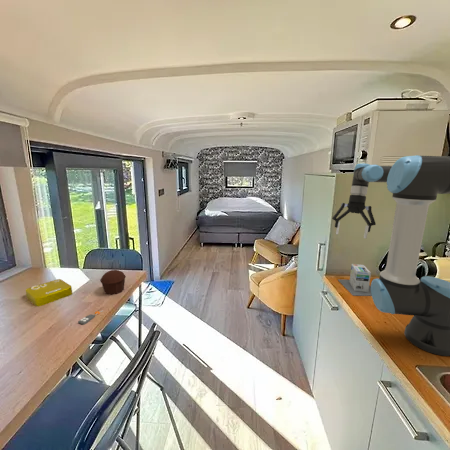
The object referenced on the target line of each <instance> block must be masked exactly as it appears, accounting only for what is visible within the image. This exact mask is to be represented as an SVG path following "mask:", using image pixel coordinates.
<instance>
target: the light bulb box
mask: <svg viewBox="0 0 450 450" xmlns="http://www.w3.org/2000/svg"><path fill="white" fill-rule="evenodd" d="M350 267H351V268H350V275H349V280H350V281H349V282H350V284H351V286H352V287H353V289H354V291H362V292H368V291H369V285H370V284H371V282H370V281H371V277H372V275H371V274H372V272H371V271H370V270H369V268H368V267H366V265H365V264H360V263H359V264H357V263H351V266H350Z"/></svg>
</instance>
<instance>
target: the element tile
mask: <svg viewBox="0 0 450 450" xmlns="http://www.w3.org/2000/svg"><path fill="white" fill-rule="evenodd" d="M25 295H26V299H27V300H28V301H30V302H31V303H32V304H33V305H34V306H35V307H42V306H45V305H48V304H51V303H53V302H56V301H59V300H62V299H65V298H68V297H70V296H72V295H73V289H72V285H70V284H69V283H68V282H65V280H63V279H60V278H58V279H54V280H51V281H47V282H45V283H40V284H36V285H33V286H31V287H27V288H26V289H25Z"/></svg>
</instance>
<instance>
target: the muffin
mask: <svg viewBox="0 0 450 450" xmlns="http://www.w3.org/2000/svg"><path fill="white" fill-rule="evenodd" d="M126 278H127V277H126V274H124V272H123V271H121V270H118V269H112V270H109V271H107V272H105V273H104V274H103V275H102V277H101V278H100V279H99V280H100V283H101V285H102V288H103V292H104V293H105V295H109V296H111V295H112V296H113V295H118V294H120V293H122V292H123V291H124V290H125V280H126Z"/></svg>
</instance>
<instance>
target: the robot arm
mask: <svg viewBox="0 0 450 450" xmlns="http://www.w3.org/2000/svg"><path fill="white" fill-rule="evenodd" d="M370 183H386V188H387V190H388V192H390V193H392V196H391V197H392V199H393V200H394V201H395V203H396V204H395V211H394V217H393V223H392V230H391V236H390V241H389V247H388V253H387V260H386V266H385V269H383V270H382V271H380V273H379V277H378V278H377V277H376V278H373V279H372V281H371V282H370V286H371V294H372V296H371V298H372V301H373V303H374V306H375V308H376V309H377V310H378V311H379V312H381V313H385V314H391V315H402V316H403V315H405V316H412V317H411V319H410V321H409V323H407V324H406V326H405V329H404V331H403V332H404V336H405V338H406V339H407V340H408V342H410V343H411V344H412V345H414V346H416V347H417V348H418V349H421V350H422V351H426V352H427V353H430V354H433V355H436V356H437V355H438V356H442V357H444V356H445V357H450V281H448V280H446V279H441V278H438V277H435V276H428V275H426V276H425V275H424V276H422V277H421V278H420V279H419V278H418V277H417V275H416V274H417V270H418V263H419V260H420V259H419V258H420V254H421V253H420V252H421V250H422V249H421V247H422V243H423V238H424V233H425V228H426V223H427V217H428V211H429V207H430V205H431V204H434V202H436V201H437V196H438V195H446V194H447V195H449V194H450V155H407V156H402V157H400V158H398V159H397V160H396V161H395V162H394V163H393V164H392V165H379V164H370V163H357V164H355V167H354V170H353V176H352V181H351V188H350V195H349V198H348V203H346V202H342V203H340V204H341V205H340V207H339V209H338V210H337V211H336V212H335V213H334V215H333V216H332V220H333V221H334V228H335V229H336V230H335V234H336V235H339V231H340V226H341V225H340V224H341V220H342V219H343V218H345V217H346V216H347V215H348V214H349V213H351V214H356V215H357V214H360V216H361V217H362V218H363V220H364V222H365V223H366V224H365V227H364V233H363V239H367V238H368V234H369V233H371V230H372V226H376V221H375V217H374V215H373V210H372V206H371V205H368V206H366V199H367V194H368V189H369V184H370ZM346 207H347V210H346V211H344V208H346ZM364 210H366V211H367V214H368V217H367V215H366V214H365V212H364ZM342 211H344V212H342ZM341 212H342V214H341ZM340 214H341V215H340Z"/></svg>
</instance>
